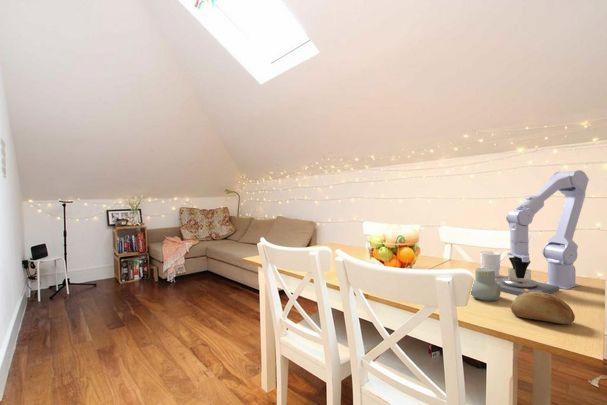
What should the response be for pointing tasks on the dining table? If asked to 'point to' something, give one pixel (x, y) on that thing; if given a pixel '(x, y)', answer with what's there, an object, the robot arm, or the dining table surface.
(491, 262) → the white cup
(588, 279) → the dining table surface
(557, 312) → the bread roll
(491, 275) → the air freshener
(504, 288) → the dial base
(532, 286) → the dial
